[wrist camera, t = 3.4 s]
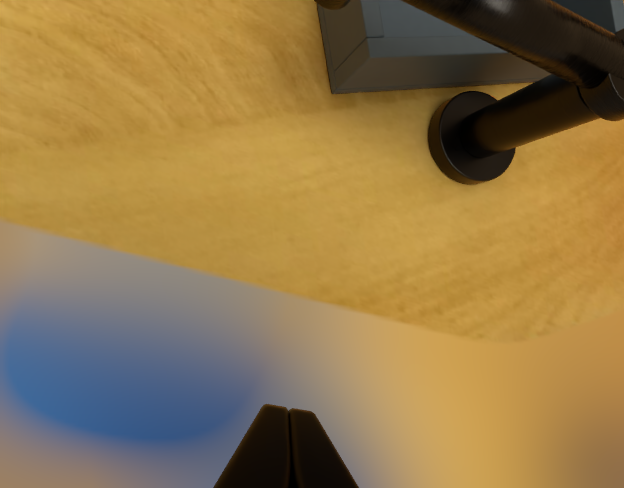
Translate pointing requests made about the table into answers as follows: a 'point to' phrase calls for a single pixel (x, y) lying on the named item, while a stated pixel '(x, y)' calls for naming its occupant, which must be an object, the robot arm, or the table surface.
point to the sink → (426, 47)
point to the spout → (542, 42)
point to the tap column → (501, 126)
